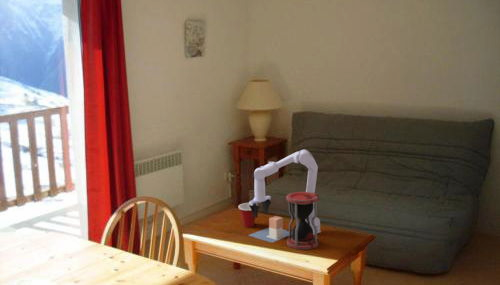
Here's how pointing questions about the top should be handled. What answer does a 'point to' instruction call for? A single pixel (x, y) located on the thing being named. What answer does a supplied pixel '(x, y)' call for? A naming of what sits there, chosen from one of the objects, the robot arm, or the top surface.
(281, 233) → the offwhite block
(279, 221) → the terracotta block
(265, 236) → the mat
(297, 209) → the hourglass
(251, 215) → the plastic cup
